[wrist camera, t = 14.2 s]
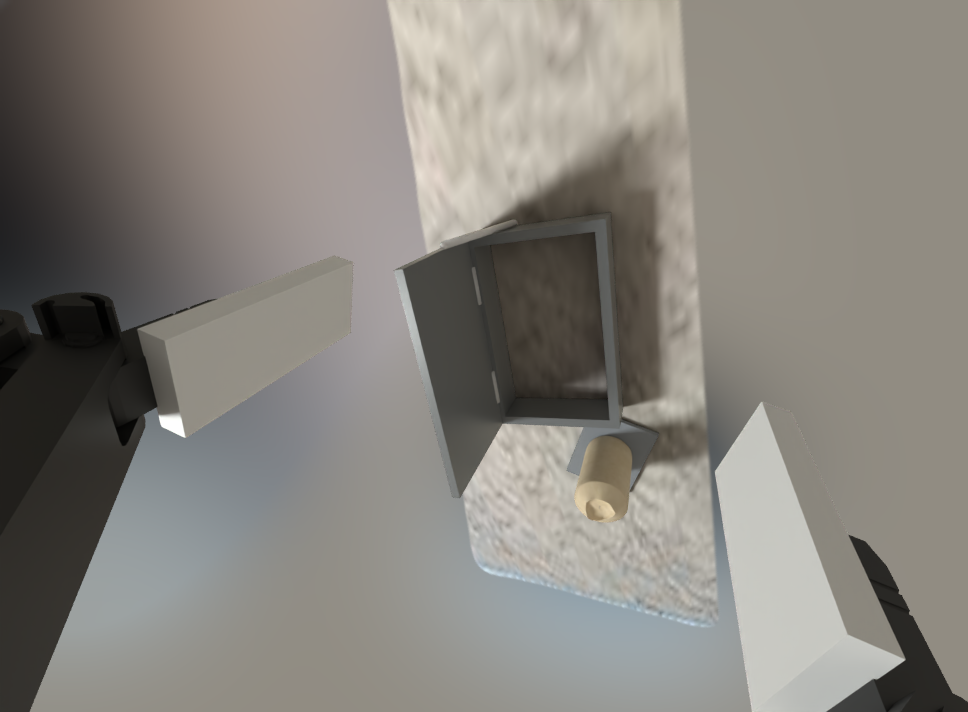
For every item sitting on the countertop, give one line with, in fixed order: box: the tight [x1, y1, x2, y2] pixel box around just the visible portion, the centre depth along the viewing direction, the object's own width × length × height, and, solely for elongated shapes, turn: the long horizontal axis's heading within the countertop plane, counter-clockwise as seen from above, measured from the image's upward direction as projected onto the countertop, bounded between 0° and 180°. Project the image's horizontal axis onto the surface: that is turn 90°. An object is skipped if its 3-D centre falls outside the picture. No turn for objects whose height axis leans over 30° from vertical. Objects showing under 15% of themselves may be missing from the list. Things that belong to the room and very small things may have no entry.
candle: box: [574, 436, 632, 522], centre depth 49 cm, size 6×6×10 cm
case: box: [394, 212, 623, 498], centre depth 42 cm, size 23×14×18 cm, turn 11°
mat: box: [566, 419, 659, 491], centre depth 53 cm, size 10×8×1 cm
